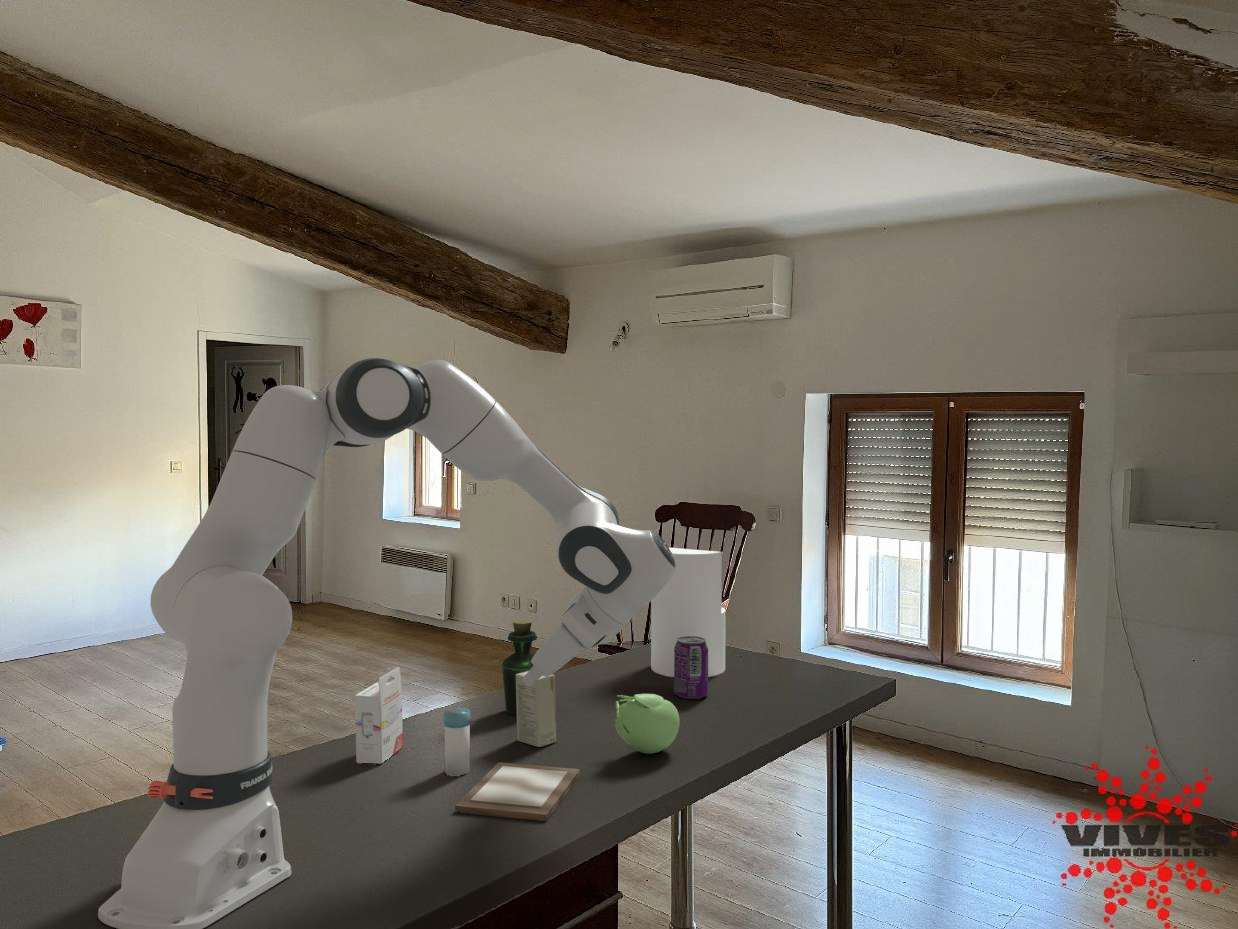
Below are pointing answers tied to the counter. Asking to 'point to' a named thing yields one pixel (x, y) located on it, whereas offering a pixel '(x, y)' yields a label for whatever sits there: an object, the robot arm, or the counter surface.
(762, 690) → the counter surface
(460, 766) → the white bottle teal cap
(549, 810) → the writing board
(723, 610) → the cylinder
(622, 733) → the green eggplant
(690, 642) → the beverage can
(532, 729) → the skincare box
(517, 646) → the potion bottle
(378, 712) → the ink cartridge box
